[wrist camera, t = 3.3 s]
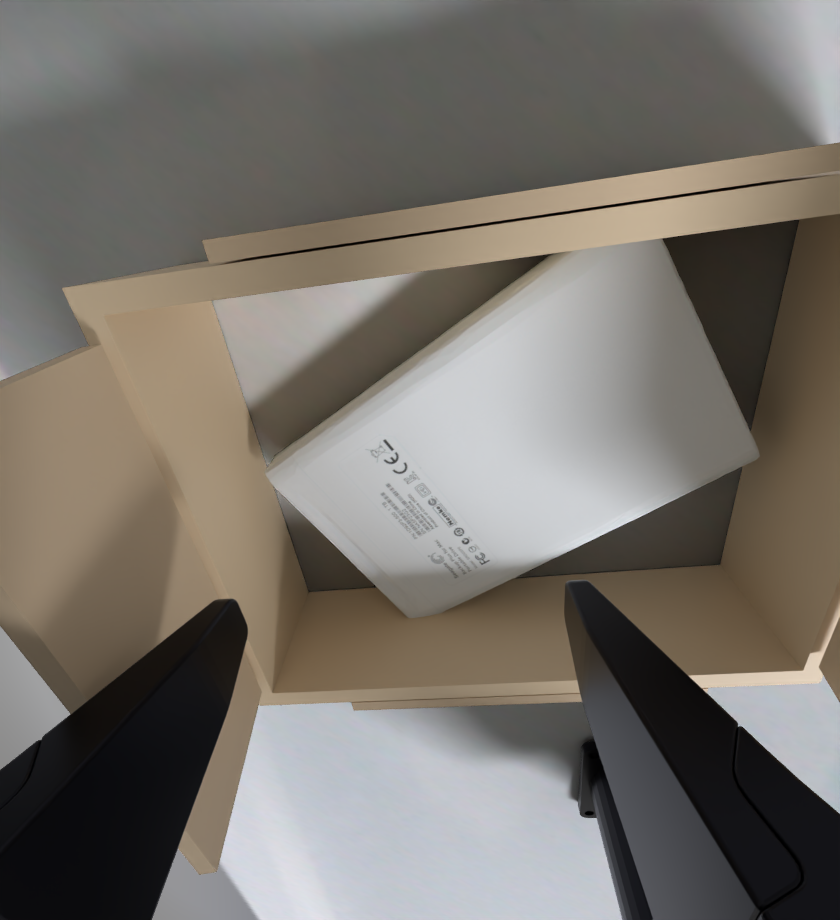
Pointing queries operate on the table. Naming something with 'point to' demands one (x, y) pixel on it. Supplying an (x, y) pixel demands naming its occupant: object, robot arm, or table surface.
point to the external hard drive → (523, 431)
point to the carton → (520, 599)
